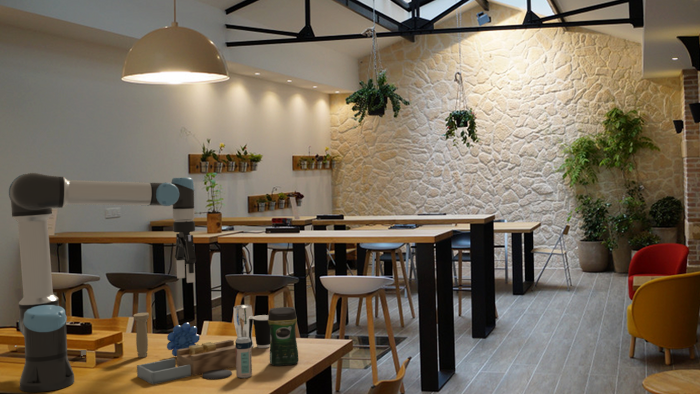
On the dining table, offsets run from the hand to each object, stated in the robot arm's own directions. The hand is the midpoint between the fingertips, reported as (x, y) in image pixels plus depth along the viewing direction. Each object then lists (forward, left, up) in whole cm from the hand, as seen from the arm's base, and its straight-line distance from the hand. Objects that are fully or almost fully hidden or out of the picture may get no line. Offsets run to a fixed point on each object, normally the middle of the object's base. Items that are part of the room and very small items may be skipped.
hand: (185, 280), depth 238 cm
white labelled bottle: (-1, -40, -26) cm, 48 cm away
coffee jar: (+17, -36, -26) cm, 48 cm away
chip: (-8, -22, -22) cm, 32 cm away
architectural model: (-28, +22, -27) cm, 45 cm away
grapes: (-3, -3, -26) cm, 27 cm away
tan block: (-3, -22, -22) cm, 31 cm away
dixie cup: (+24, -11, -26) cm, 38 cm away
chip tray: (-19, -22, -26) cm, 39 cm away
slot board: (-2, -22, -26) cm, 34 cm away
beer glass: (+19, -7, -26) cm, 33 cm away
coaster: (-6, -33, -26) cm, 43 cm away
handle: (-14, +7, -26) cm, 31 cm away
